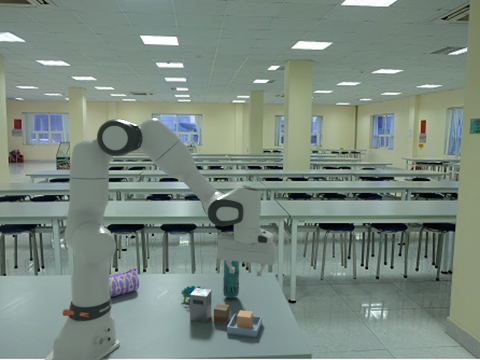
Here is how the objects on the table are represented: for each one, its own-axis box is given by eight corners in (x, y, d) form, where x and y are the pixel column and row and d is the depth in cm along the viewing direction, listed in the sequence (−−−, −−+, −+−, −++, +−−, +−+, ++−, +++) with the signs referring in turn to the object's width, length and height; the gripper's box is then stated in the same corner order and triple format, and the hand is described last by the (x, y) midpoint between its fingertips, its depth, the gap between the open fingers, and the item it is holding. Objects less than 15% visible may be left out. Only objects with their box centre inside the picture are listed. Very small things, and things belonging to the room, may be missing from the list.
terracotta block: (249, 331, 133) (250, 317, 132) (236, 330, 134) (237, 316, 133) (252, 325, 137) (252, 311, 137) (239, 323, 138) (240, 310, 138)
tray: (256, 338, 130) (256, 330, 130) (227, 334, 132) (227, 326, 132) (261, 323, 140) (262, 316, 139) (234, 320, 142) (234, 313, 142)
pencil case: (132, 285, 172) (132, 264, 171) (142, 292, 166) (142, 270, 164) (81, 299, 158) (80, 276, 157) (90, 307, 151) (89, 283, 150)
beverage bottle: (220, 299, 159) (220, 251, 156) (226, 293, 165) (227, 246, 162) (235, 302, 157) (236, 253, 154) (241, 296, 163) (242, 248, 160)
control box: (205, 323, 139) (206, 296, 138) (189, 321, 140) (189, 294, 139) (211, 315, 145) (211, 289, 144) (196, 313, 147) (196, 287, 146)
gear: (212, 294, 160) (204, 283, 153) (210, 308, 157) (202, 298, 149) (186, 294, 163) (178, 284, 155) (184, 308, 159) (175, 299, 152)
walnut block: (225, 323, 139) (226, 310, 139) (213, 322, 140) (213, 308, 140) (229, 318, 144) (229, 305, 143) (217, 316, 145) (217, 303, 144)
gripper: (214, 233, 131) (213, 274, 133) (275, 239, 126) (273, 280, 128) (219, 229, 137) (218, 268, 139) (278, 234, 133) (276, 274, 134)
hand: (245, 274), depth 133 cm, fingers open, 8 cm apart
